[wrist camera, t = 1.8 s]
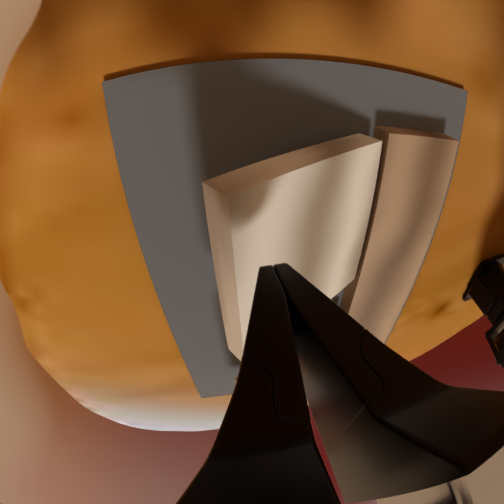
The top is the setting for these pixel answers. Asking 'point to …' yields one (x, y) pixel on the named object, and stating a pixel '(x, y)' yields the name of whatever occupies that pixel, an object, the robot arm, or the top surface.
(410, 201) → the light brown plank
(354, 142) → the light beige plank
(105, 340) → the top surface
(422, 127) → the underlay
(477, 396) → the robot arm
